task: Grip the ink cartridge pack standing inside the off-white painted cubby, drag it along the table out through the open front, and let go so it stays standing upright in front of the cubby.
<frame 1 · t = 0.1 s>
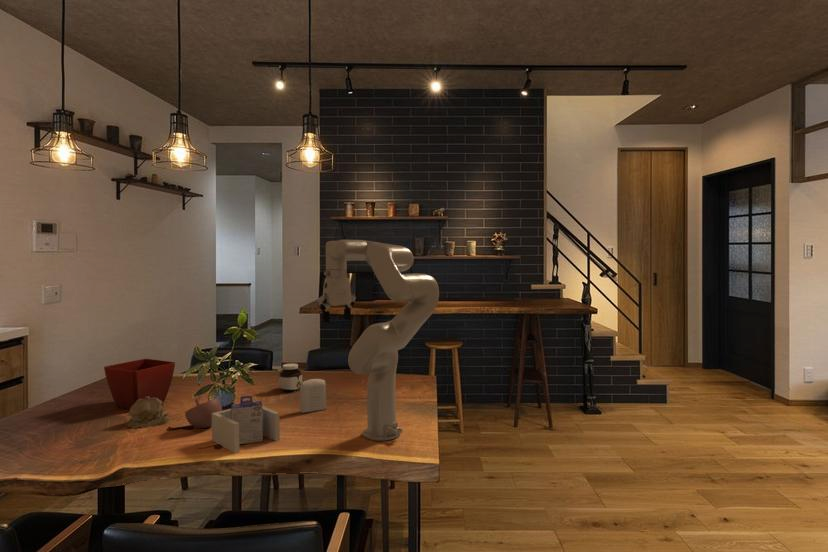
hand: (336, 320, 184), 37 cm above the table, tool pointing down, fingers open, 9 cm apart
plant pot: (141, 405, 205), on the table
cubby: (245, 440, 164), on the table
spread jar: (289, 389, 228), on the table
mortar and pestle: (204, 427, 177), on the table
photo printer: (313, 410, 196), on the table
ink cartridge box: (247, 441, 163), on the table
ceramic model: (148, 423, 182), on the table
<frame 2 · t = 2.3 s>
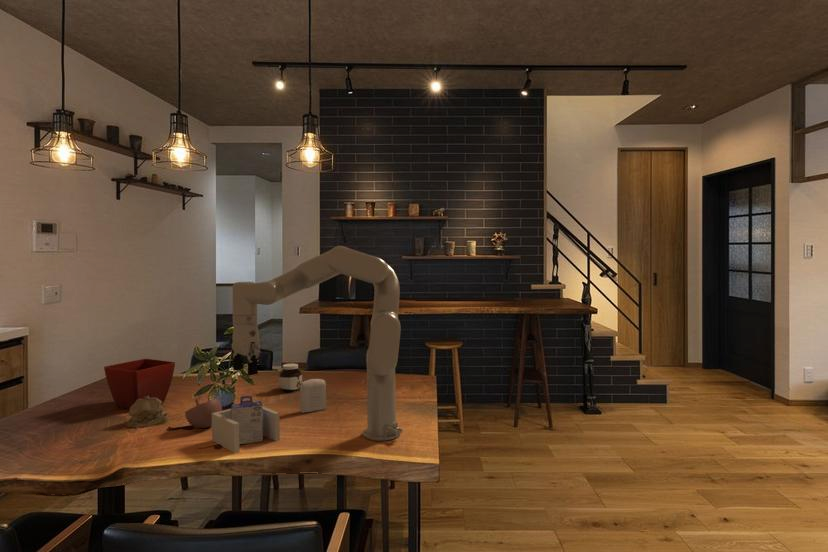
hand: (245, 372, 163), 23 cm above the table, tool pointing down, fingers open, 9 cm apart
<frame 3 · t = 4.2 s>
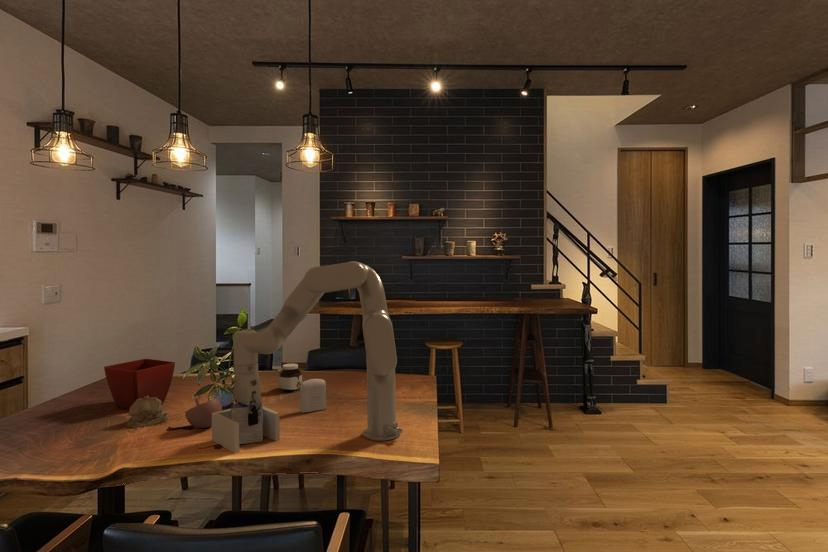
hand: (247, 421, 163), 6 cm above the table, tool pointing down, fingers closed on ink cartridge box, 7 cm apart
ink cartridge box: (247, 441, 163), on the table, touching gripper
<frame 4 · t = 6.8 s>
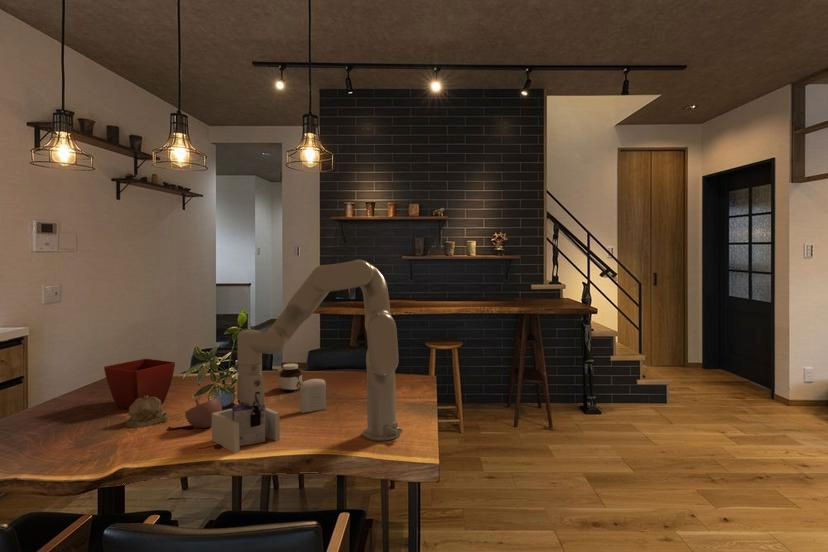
hand: (249, 422, 161), 7 cm above the table, tool pointing down, fingers closed on ink cartridge box, 6 cm apart
ink cartridge box: (248, 441, 162), on the table, touching gripper
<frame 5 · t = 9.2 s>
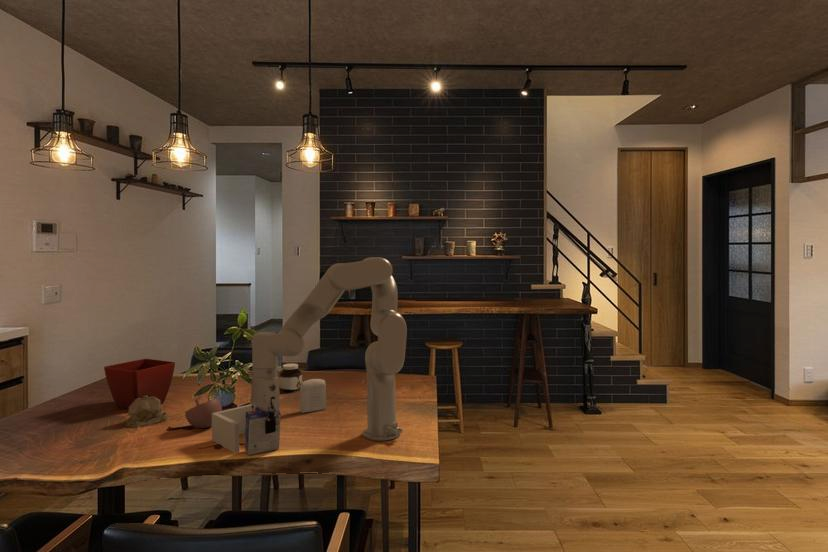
hand: (264, 429, 154), 7 cm above the table, tool pointing down, fingers closed on ink cartridge box, 7 cm apart
ink cartridge box: (261, 448, 156), on the table, touching gripper
when the fingers open (7 cm above the table, at t = 11.7 s): ink cartridge box stays where it is, on the table.
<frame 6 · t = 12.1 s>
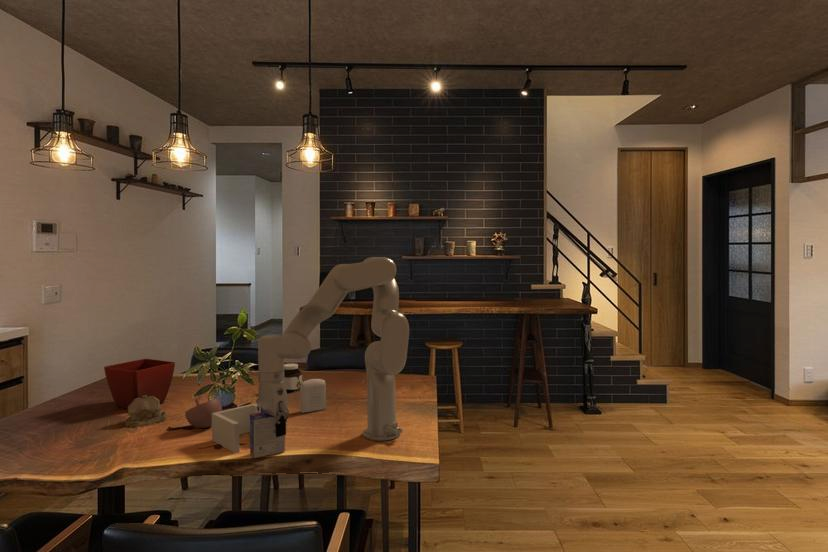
hand: (272, 431, 152), 7 cm above the table, tool pointing down, fingers open, 9 cm apart
ink cartridge box: (267, 452, 153), on the table, touching gripper
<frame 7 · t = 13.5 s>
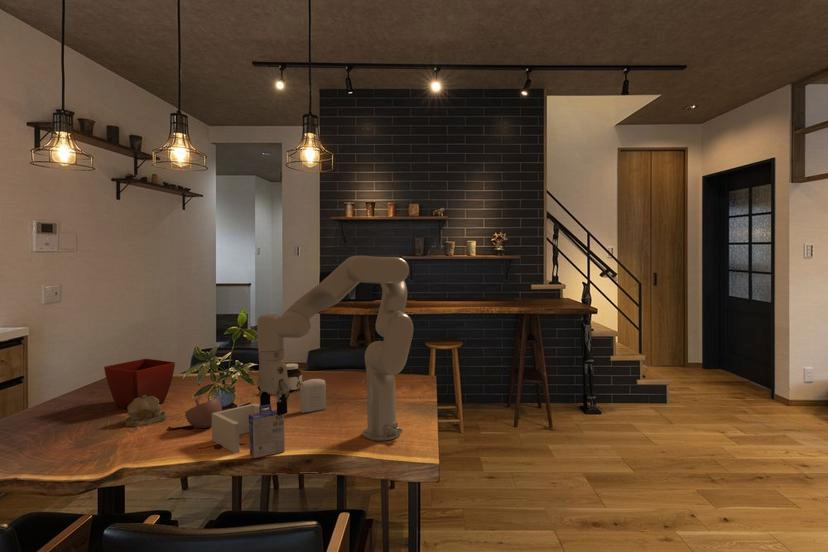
hand: (273, 410, 152), 13 cm above the table, tool pointing down, fingers open, 9 cm apart
ink cartridge box: (267, 453, 153), on the table
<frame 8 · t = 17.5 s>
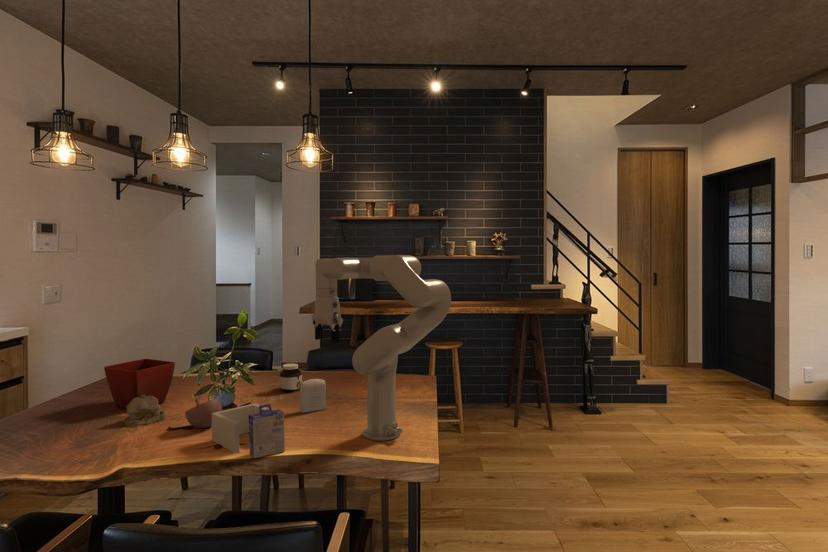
hand: (327, 340, 178), 30 cm above the table, tool pointing down, fingers open, 9 cm apart
at the end: ink cartridge box inside the target area (1.9 cm from its centre), on the table; ink cartridge box tilted 0°; the gripper is holding nothing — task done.
